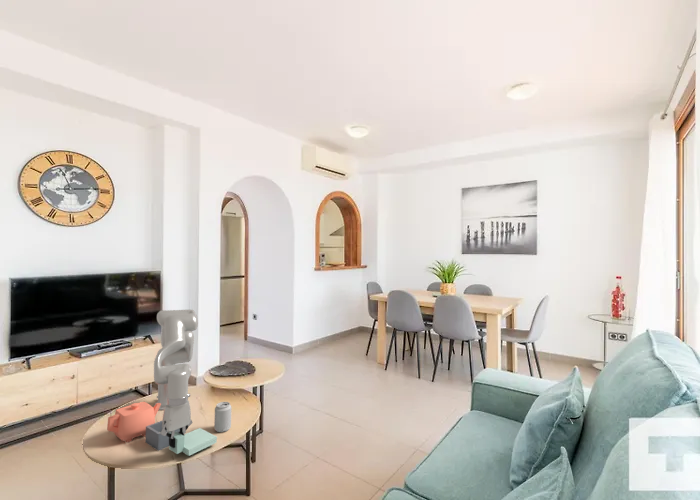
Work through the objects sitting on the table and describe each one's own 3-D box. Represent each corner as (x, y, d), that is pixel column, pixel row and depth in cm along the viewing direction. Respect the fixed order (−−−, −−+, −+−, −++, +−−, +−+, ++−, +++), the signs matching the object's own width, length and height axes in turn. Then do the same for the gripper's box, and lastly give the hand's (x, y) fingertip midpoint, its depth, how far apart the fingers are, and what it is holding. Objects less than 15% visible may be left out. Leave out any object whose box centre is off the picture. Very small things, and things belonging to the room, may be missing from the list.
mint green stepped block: (164, 448, 149) (165, 431, 149) (199, 433, 162) (199, 418, 162) (181, 459, 142) (182, 441, 142) (216, 442, 155) (217, 426, 155)
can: (234, 427, 172) (234, 402, 172) (223, 434, 165) (224, 408, 165) (221, 424, 174) (222, 399, 174) (210, 431, 167) (211, 405, 167)
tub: (145, 442, 156) (145, 426, 157) (170, 432, 166) (170, 417, 166) (158, 450, 150) (158, 434, 150) (183, 440, 159) (183, 424, 159)
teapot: (154, 421, 175) (155, 393, 176) (166, 430, 168) (167, 400, 168) (102, 439, 158) (103, 407, 158) (112, 449, 150) (113, 416, 150)
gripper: (191, 391, 156) (190, 434, 156) (152, 404, 142) (151, 450, 142) (201, 396, 152) (200, 439, 151) (162, 409, 138) (161, 457, 138)
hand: (176, 444), depth 147 cm, fingers closed on mint green stepped block, 3 cm apart
